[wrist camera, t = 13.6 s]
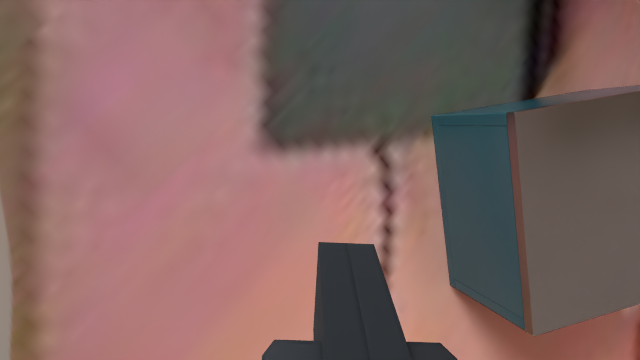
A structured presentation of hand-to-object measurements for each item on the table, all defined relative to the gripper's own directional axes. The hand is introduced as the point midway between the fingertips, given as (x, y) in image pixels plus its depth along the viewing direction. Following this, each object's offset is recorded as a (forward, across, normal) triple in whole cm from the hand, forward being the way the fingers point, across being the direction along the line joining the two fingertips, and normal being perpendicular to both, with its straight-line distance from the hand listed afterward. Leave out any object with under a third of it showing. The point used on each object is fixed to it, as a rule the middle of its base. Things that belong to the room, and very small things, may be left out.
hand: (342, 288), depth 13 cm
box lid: (+16, +19, -2) cm, 25 cm away
